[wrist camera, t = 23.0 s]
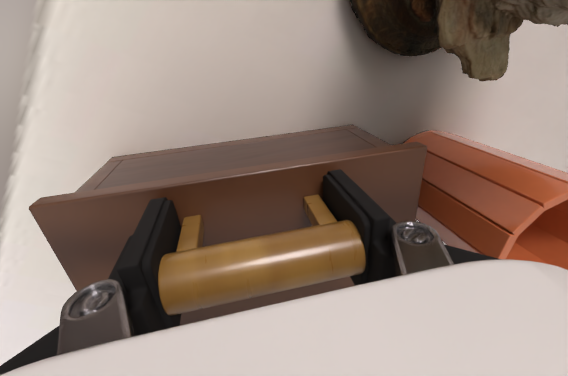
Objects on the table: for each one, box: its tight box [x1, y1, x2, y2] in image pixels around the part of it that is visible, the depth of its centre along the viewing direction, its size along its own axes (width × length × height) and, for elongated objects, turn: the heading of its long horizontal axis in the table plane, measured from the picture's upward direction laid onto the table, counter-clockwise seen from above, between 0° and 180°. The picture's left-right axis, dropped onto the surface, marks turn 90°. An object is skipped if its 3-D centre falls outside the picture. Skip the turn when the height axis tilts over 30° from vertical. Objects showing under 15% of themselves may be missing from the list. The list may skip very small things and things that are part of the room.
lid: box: [29, 142, 427, 326], centre depth 13 cm, size 17×16×5 cm
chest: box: [75, 125, 390, 193], centre depth 18 cm, size 16×16×7 cm
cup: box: [403, 130, 568, 270], centre depth 18 cm, size 6×6×10 cm
